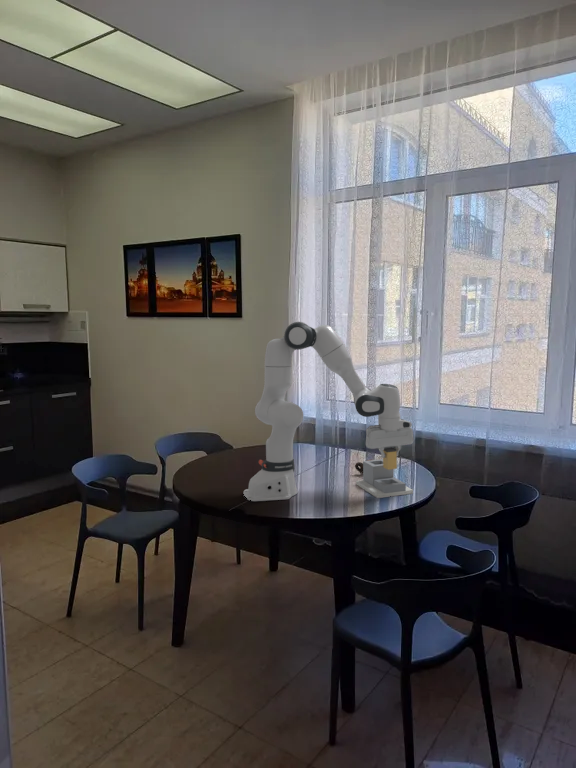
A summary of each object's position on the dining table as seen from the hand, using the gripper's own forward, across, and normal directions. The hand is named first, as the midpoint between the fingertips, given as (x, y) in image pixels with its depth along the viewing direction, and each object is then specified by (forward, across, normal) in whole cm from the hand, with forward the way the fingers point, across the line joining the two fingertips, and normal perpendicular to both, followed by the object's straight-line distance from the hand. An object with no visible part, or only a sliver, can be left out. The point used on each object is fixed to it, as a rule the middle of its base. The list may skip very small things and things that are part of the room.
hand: (389, 456), depth 216 cm
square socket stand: (+15, 0, +5) cm, 16 cm away
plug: (+5, 0, 0) cm, 5 cm away
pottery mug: (+15, +2, +26) cm, 30 cm away
